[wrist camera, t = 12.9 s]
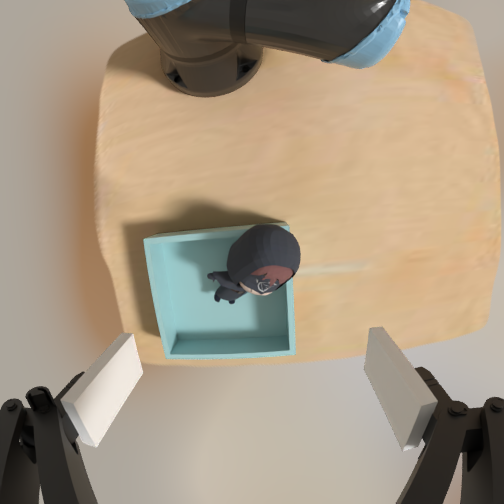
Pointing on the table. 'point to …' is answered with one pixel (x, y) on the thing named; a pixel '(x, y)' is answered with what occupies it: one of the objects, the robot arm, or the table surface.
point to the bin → (205, 307)
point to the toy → (258, 263)
